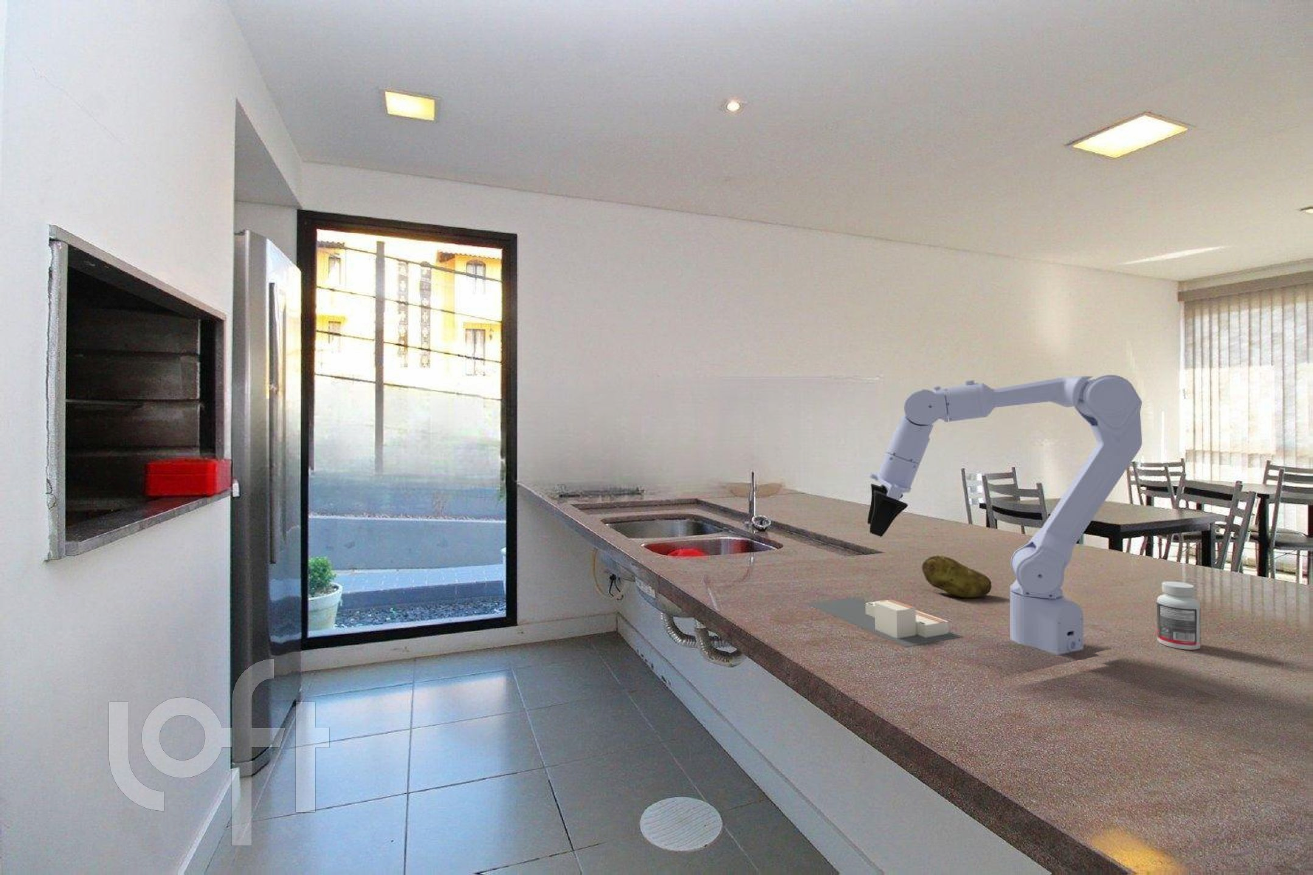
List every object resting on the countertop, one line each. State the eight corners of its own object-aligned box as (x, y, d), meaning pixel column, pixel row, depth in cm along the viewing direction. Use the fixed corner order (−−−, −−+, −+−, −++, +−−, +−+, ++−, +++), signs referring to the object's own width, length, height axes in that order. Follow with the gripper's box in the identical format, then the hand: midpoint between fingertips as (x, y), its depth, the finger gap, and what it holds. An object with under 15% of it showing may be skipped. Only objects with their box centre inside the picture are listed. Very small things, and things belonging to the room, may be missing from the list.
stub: (915, 635, 100) (915, 607, 100) (896, 638, 99) (896, 610, 99) (893, 626, 105) (893, 599, 105) (875, 629, 103) (874, 602, 103)
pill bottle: (1165, 636, 102) (1165, 578, 102) (1206, 646, 97) (1206, 585, 97) (1150, 642, 99) (1150, 582, 99) (1191, 653, 94) (1191, 590, 94)
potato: (987, 604, 121) (987, 564, 121) (918, 595, 129) (918, 557, 129) (993, 595, 128) (992, 557, 128) (927, 586, 136) (927, 550, 136)
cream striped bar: (948, 633, 101) (948, 620, 101) (925, 637, 99) (925, 624, 99) (886, 610, 114) (886, 599, 114) (865, 613, 112) (865, 602, 112)
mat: (962, 643, 99) (962, 636, 99) (906, 654, 95) (906, 646, 95) (855, 602, 124) (855, 596, 124) (805, 609, 119) (805, 603, 119)
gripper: (877, 446, 113) (851, 513, 115) (882, 453, 99) (852, 529, 102) (915, 459, 112) (888, 527, 114) (926, 469, 98) (895, 546, 100)
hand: (874, 529), depth 108 cm, fingers open, 7 cm apart
